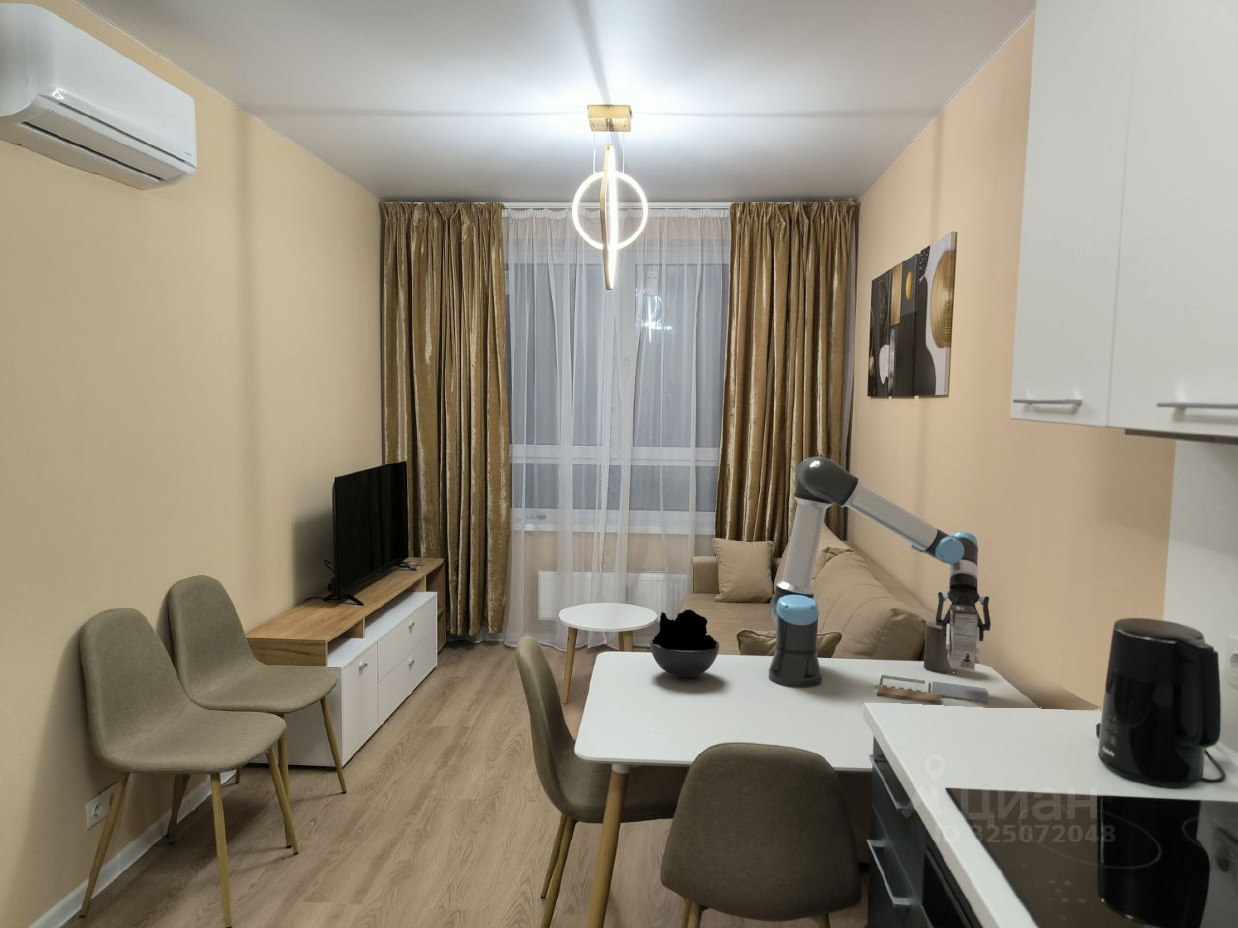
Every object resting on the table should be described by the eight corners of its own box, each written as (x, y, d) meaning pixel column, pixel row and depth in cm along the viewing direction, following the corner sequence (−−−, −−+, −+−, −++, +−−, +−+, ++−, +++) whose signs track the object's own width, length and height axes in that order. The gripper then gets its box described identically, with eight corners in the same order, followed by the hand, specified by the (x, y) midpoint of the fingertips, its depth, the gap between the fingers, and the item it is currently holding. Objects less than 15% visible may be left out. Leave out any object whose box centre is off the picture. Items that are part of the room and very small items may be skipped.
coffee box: (946, 659, 229) (949, 603, 228) (970, 661, 227) (973, 605, 227) (950, 668, 220) (953, 610, 219) (975, 671, 219) (979, 612, 218)
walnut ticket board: (876, 695, 220) (876, 692, 220) (878, 689, 225) (878, 685, 225) (939, 704, 214) (939, 700, 214) (939, 697, 219) (939, 694, 219)
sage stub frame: (875, 687, 227) (875, 684, 227) (878, 675, 238) (878, 673, 238) (928, 695, 222) (928, 692, 221) (928, 682, 233) (928, 679, 233)
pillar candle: (919, 669, 246) (922, 621, 245) (927, 662, 254) (930, 615, 253) (953, 676, 240) (956, 626, 239) (960, 668, 248) (963, 620, 247)
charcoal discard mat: (931, 695, 221) (932, 693, 221) (932, 683, 232) (932, 681, 232) (987, 703, 216) (987, 701, 216) (985, 690, 227) (985, 688, 227)
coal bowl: (722, 669, 240) (724, 607, 239) (712, 690, 221) (715, 622, 220) (657, 663, 245) (659, 602, 244) (642, 682, 226) (643, 616, 225)
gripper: (999, 590, 233) (1001, 659, 219) (927, 583, 241) (923, 650, 226) (1001, 575, 228) (1003, 645, 214) (927, 569, 236) (924, 636, 221)
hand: (962, 648), depth 220 cm, fingers closed on coffee box, 7 cm apart
